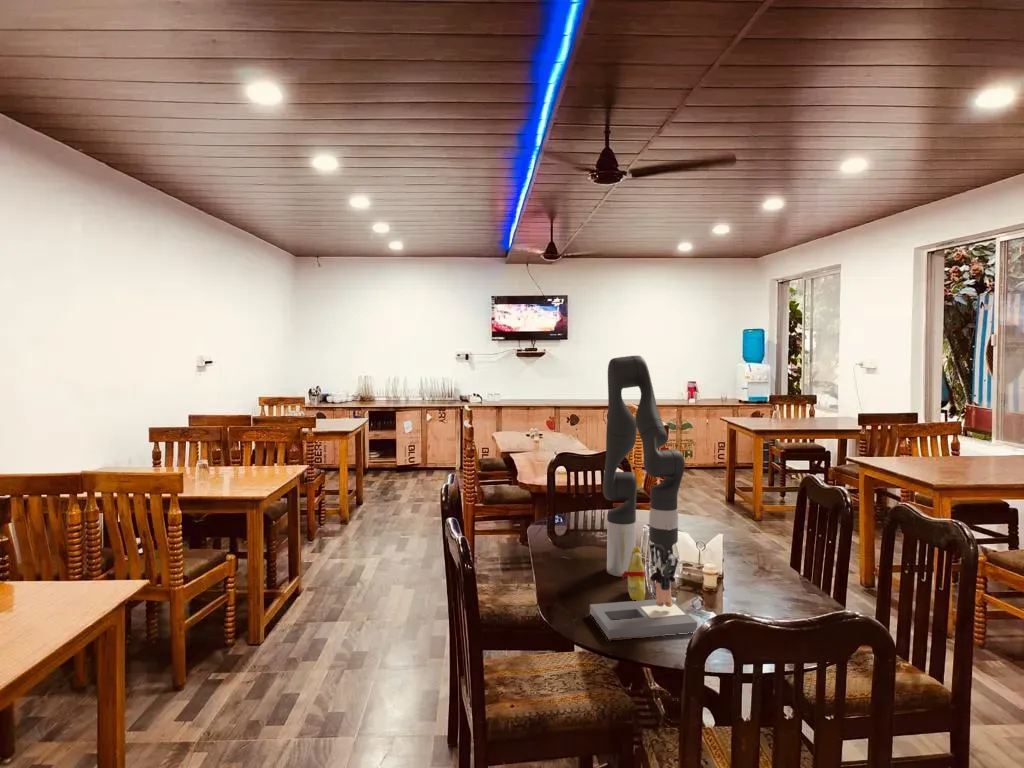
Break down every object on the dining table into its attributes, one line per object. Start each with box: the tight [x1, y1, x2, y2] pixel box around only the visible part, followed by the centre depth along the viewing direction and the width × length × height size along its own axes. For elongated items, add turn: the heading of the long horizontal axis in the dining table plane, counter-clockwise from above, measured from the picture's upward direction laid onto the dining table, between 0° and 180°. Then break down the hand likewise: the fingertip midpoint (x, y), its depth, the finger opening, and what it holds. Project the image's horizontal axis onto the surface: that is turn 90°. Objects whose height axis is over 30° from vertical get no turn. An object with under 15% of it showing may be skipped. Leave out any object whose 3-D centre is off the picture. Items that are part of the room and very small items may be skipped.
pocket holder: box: [589, 597, 698, 639], centre depth 172 cm, size 16×24×3 cm, turn 100°
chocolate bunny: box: [621, 546, 646, 601], centre depth 192 cm, size 7×11×15 cm, turn 175°
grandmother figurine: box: [647, 560, 678, 607], centre depth 173 cm, size 8×4×13 cm, turn 92°
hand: (662, 586), depth 173 cm, fingers closed on grandmother figurine, 2 cm apart
